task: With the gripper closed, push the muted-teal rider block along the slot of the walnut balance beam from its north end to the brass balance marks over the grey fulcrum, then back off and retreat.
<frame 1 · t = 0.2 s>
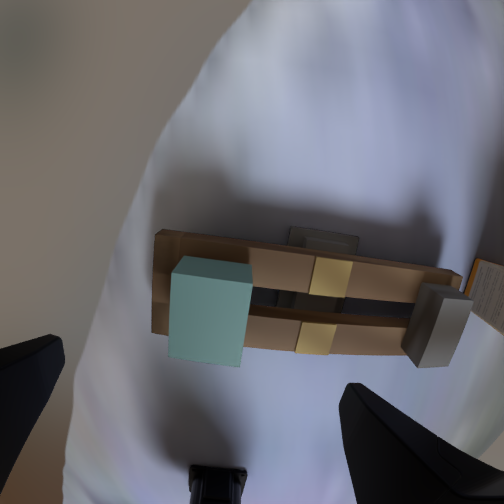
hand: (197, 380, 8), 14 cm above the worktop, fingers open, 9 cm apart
supplement box: (490, 286, 23), on the worktop
rider: (212, 303, 18), point 4 cm above the worktop, slide at 7.0 cm
beam: (312, 290, 23), on the worktop
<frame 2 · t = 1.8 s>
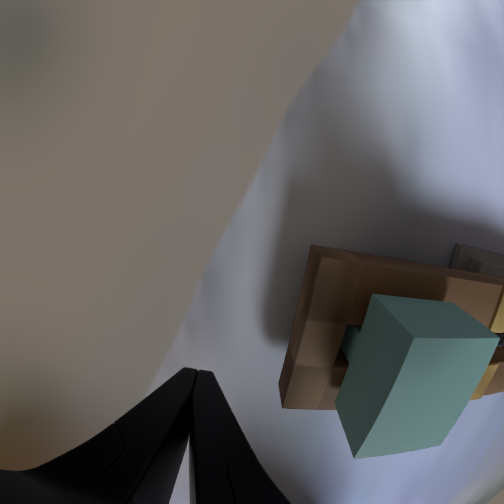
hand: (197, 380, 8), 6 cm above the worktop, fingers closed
rider: (402, 363, 10), point 4 cm above the worktop, slide at 7.0 cm
beam: (461, 322, 15), on the worktop
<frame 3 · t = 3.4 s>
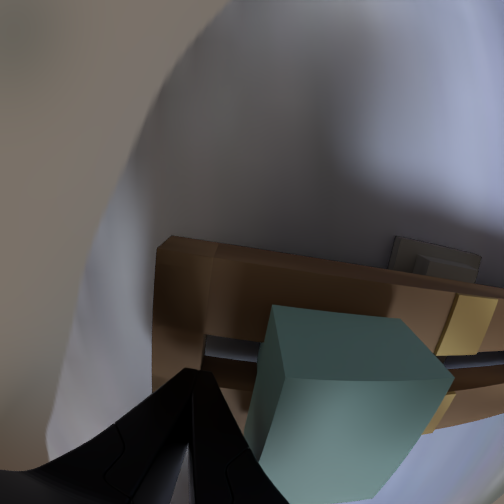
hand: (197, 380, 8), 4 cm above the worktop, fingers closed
rider: (322, 394, 8), point 4 cm above the worktop, slide at 5.7 cm, touching gripper
beam: (411, 336, 13), on the worktop
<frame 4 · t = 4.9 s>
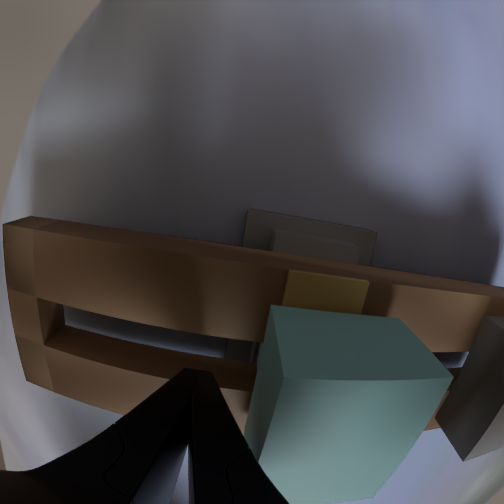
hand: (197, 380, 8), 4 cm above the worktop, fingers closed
rider: (322, 394, 8), point 4 cm above the worktop, slide at -0.4 cm, touching gripper
beam: (290, 326, 13), on the worktop
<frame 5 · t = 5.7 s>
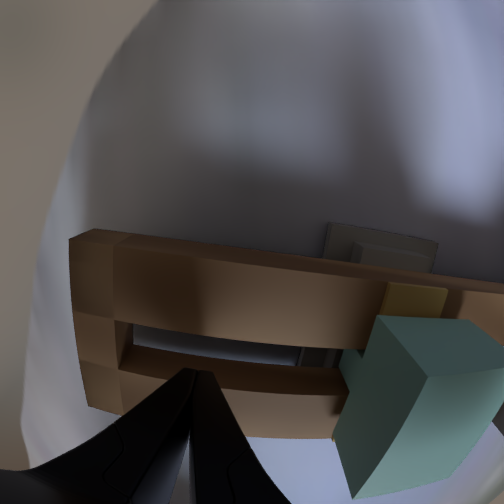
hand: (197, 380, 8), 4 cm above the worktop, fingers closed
rider: (410, 390, 9), point 4 cm above the worktop, slide at -0.4 cm
beam: (360, 331, 13), on the worktop
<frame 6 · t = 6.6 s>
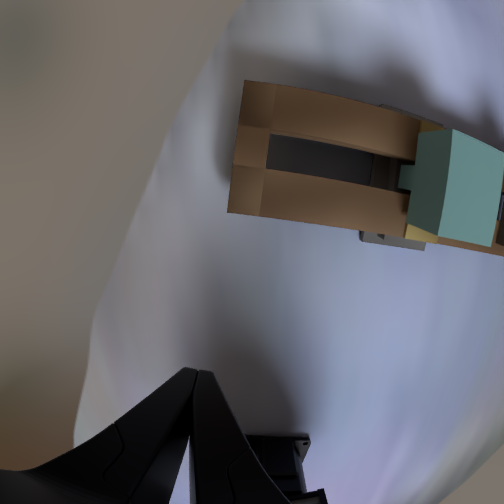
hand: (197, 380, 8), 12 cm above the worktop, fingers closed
rider: (446, 186, 14), point 4 cm above the worktop, slide at -0.4 cm
beam: (404, 179, 18), on the worktop
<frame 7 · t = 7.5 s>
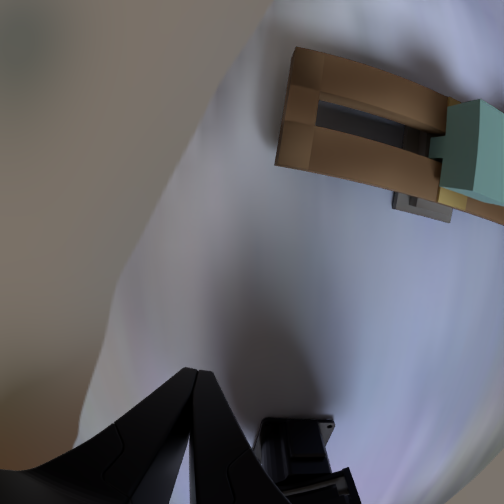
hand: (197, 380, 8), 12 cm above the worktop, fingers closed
rider: (473, 155, 14), point 4 cm above the worktop, slide at -0.4 cm
beam: (431, 154, 18), on the worktop
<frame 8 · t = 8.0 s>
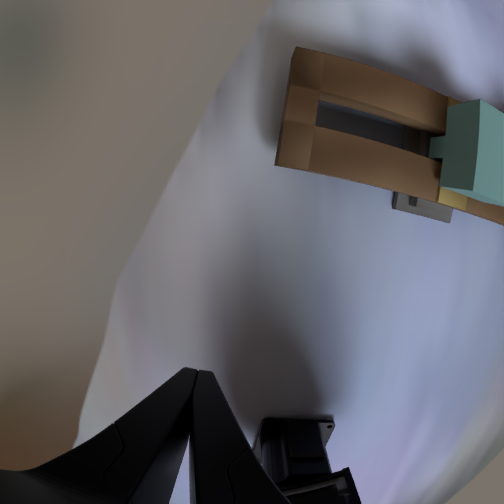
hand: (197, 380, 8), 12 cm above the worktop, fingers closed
rider: (473, 155, 14), point 4 cm above the worktop, slide at -0.4 cm
beam: (431, 154, 18), on the worktop
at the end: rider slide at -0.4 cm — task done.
